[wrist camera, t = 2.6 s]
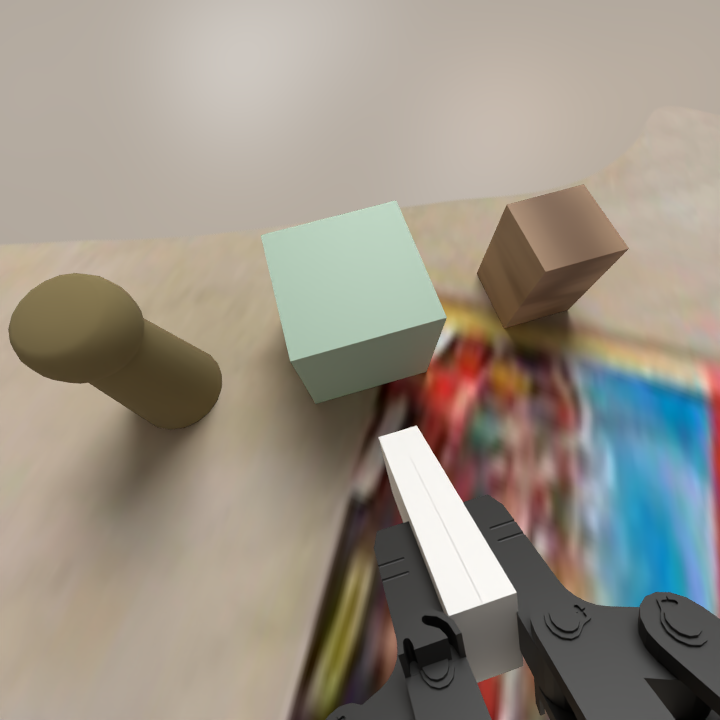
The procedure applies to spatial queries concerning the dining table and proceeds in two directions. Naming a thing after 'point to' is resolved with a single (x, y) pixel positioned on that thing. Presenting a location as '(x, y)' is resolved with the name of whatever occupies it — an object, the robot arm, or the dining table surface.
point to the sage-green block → (353, 301)
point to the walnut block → (547, 254)
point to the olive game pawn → (113, 350)
